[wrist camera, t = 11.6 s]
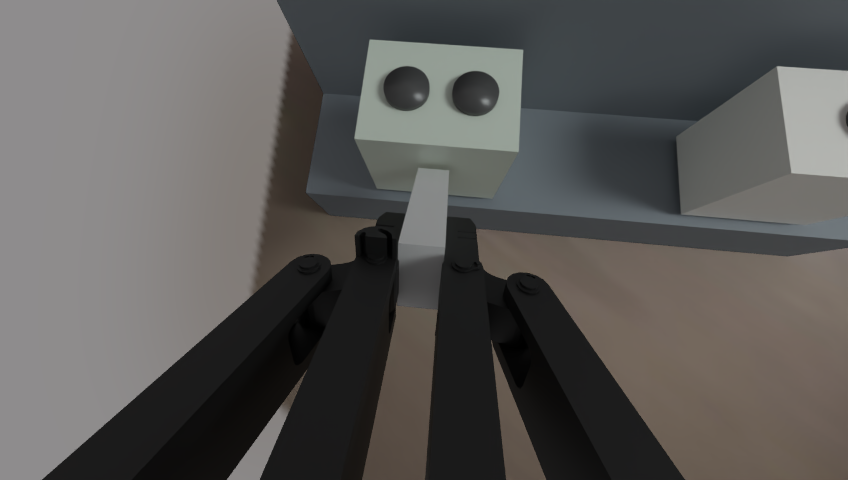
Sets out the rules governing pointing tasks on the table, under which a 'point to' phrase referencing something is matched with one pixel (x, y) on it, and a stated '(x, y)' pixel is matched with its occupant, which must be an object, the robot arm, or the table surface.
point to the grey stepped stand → (579, 106)
